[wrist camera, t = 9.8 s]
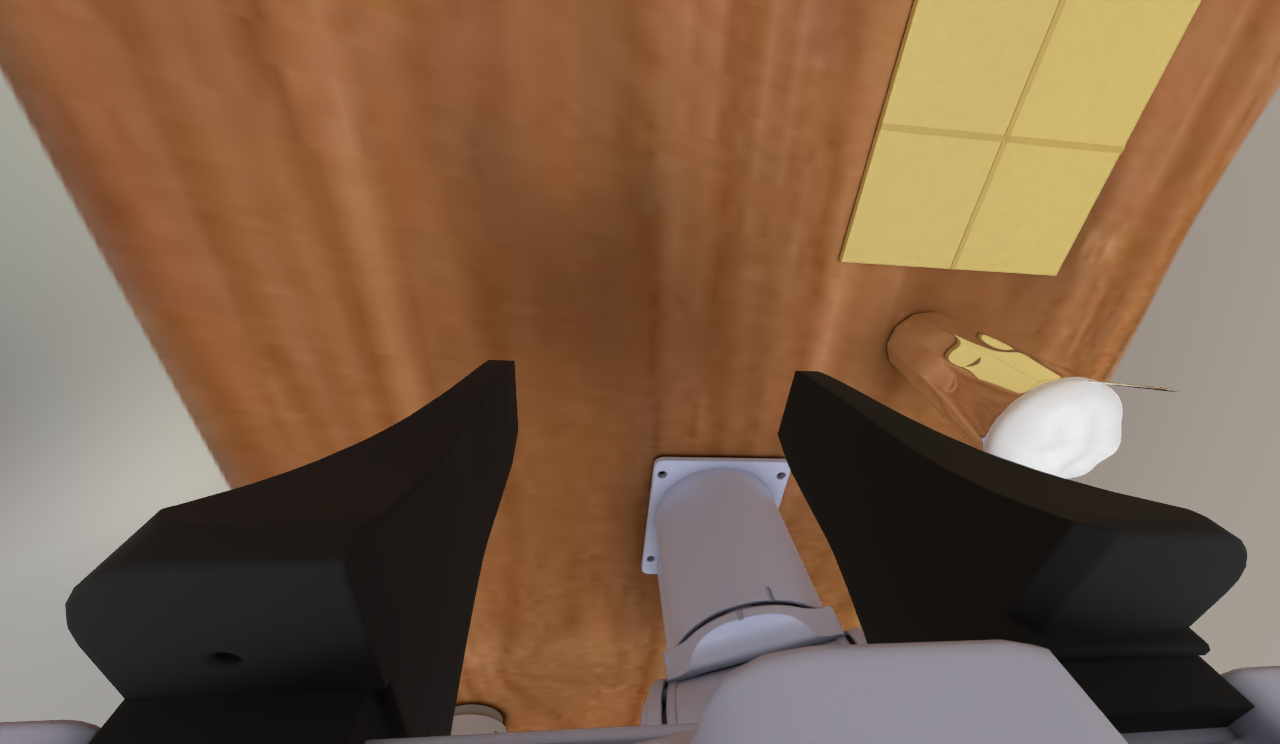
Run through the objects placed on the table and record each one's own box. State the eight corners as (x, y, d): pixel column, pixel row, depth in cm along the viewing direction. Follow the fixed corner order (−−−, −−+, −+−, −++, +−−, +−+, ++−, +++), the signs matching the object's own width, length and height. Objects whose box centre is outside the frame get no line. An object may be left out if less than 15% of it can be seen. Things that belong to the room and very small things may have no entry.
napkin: (1050, 274, 22) (1056, 275, 22) (838, 260, 21) (841, 262, 21) (1200, -13, 17) (1211, -15, 17) (929, -52, 16) (935, -56, 16)
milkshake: (987, 292, 23) (1233, 401, 14) (931, 384, 25) (1110, 526, 16) (908, 274, 22) (1114, 377, 13) (858, 371, 24) (1004, 513, 16)
